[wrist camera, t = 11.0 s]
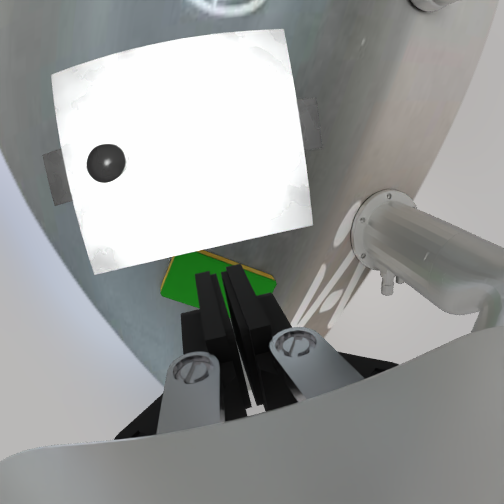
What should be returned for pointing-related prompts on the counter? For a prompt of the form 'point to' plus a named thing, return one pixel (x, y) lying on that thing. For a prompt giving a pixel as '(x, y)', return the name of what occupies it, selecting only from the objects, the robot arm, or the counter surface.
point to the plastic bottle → (431, 4)
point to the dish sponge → (187, 265)
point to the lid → (183, 146)
